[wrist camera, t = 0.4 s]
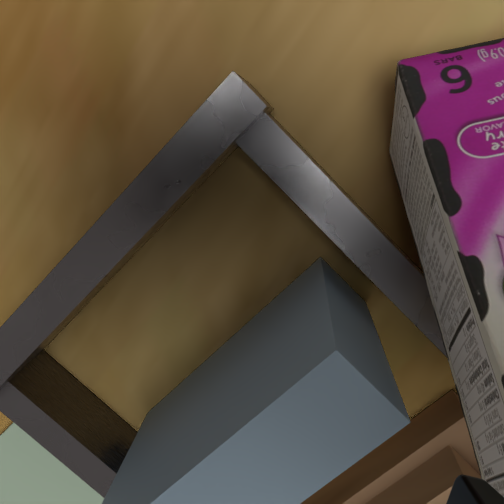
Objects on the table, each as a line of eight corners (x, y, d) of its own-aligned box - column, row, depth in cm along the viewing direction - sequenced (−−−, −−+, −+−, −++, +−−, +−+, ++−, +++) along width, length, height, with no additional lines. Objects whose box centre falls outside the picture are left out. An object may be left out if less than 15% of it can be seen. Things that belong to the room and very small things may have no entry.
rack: (484, 328, 22) (537, 388, 17) (212, 534, 26) (193, 628, 21) (248, 82, 20) (232, 70, 15) (-1, 351, 24) (-74, 409, 19)
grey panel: (365, 302, 22) (410, 422, 13) (190, 449, 25) (133, 625, 16) (320, 256, 21) (336, 349, 13) (147, 412, 24) (67, 572, 16)
